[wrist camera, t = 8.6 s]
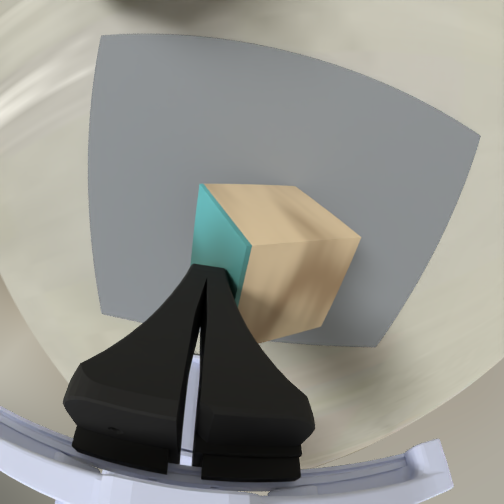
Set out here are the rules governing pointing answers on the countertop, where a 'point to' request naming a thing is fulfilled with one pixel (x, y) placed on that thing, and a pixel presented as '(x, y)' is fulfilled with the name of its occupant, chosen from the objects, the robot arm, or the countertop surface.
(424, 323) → the countertop surface
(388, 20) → the countertop surface
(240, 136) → the rubber mat
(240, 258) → the oak block
